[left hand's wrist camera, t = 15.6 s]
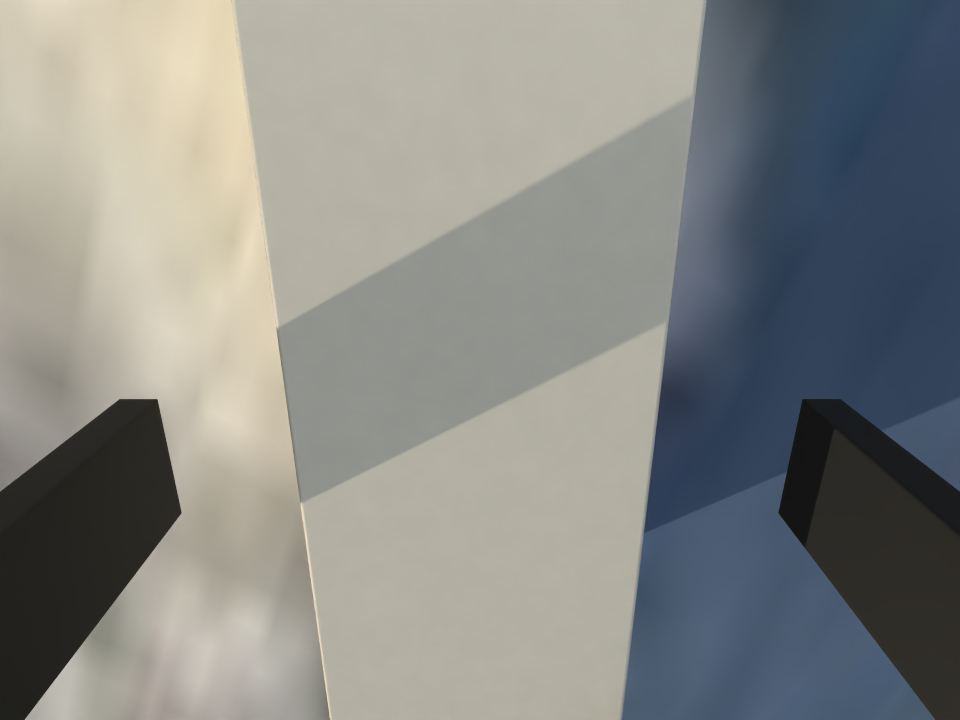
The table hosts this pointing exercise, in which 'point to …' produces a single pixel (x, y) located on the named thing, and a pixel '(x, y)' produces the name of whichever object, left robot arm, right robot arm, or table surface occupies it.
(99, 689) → the table surface
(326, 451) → the beam
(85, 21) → the table surface
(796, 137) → the table surface
